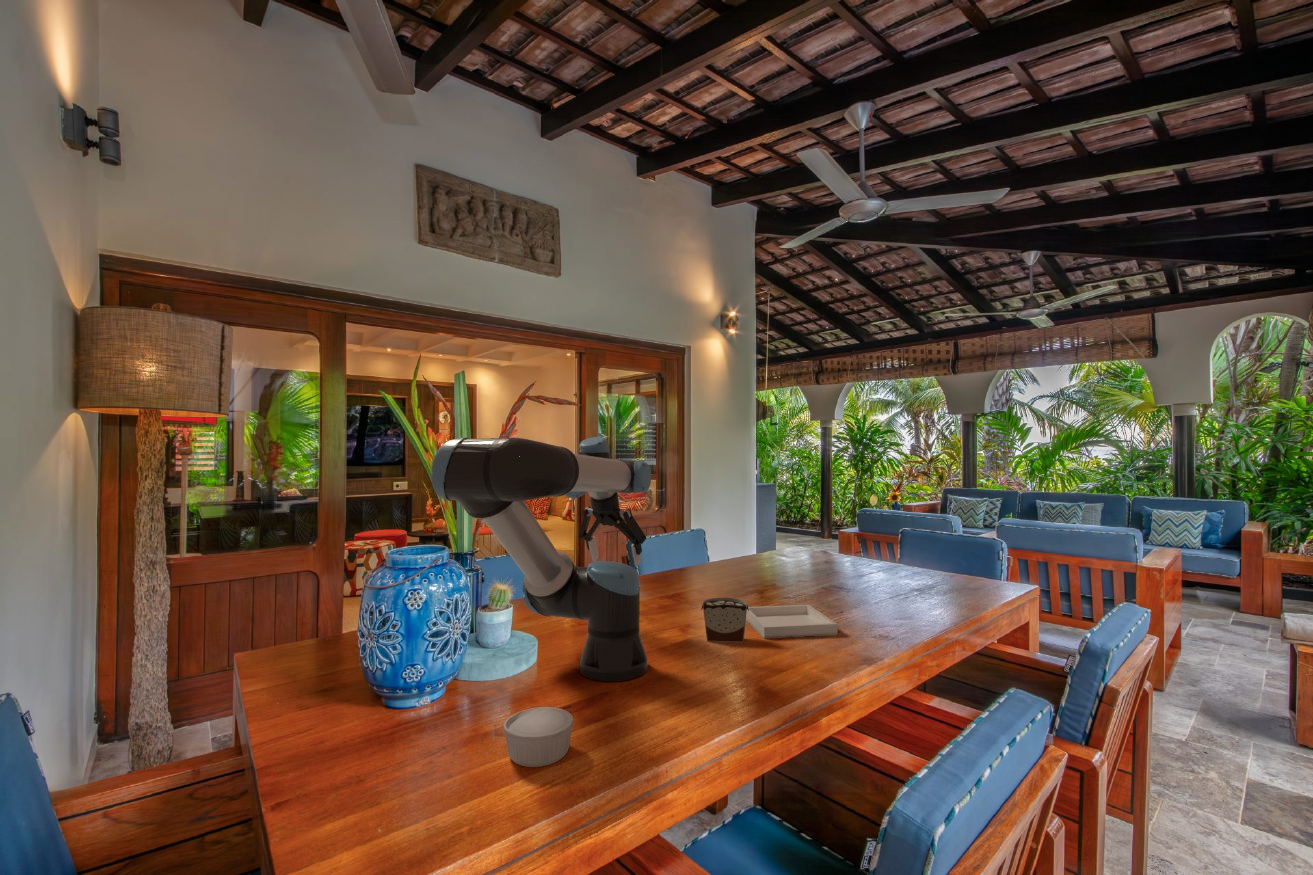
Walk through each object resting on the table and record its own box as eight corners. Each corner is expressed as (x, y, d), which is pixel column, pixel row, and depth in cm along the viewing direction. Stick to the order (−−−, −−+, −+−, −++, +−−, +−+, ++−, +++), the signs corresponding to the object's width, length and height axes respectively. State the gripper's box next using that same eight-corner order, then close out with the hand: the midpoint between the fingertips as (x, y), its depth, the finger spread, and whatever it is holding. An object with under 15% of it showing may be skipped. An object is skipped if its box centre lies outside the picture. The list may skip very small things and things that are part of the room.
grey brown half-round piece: (748, 635, 156) (747, 597, 156) (749, 642, 150) (749, 603, 150) (701, 634, 157) (701, 596, 157) (701, 641, 151) (700, 602, 151)
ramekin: (510, 737, 101) (510, 706, 101) (575, 735, 101) (575, 704, 101) (497, 773, 89) (497, 738, 90) (570, 770, 90) (570, 735, 90)
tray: (837, 635, 155) (837, 623, 155) (764, 638, 153) (764, 627, 153) (808, 614, 175) (808, 604, 175) (743, 617, 172) (743, 607, 173)
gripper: (650, 489, 155) (662, 558, 163) (571, 485, 166) (585, 550, 173) (638, 502, 149) (651, 573, 156) (556, 497, 160) (572, 564, 167)
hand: (616, 561), depth 165 cm, fingers open, 13 cm apart
